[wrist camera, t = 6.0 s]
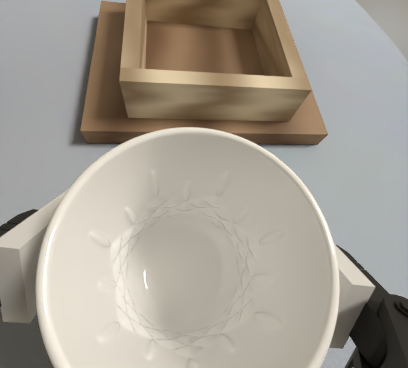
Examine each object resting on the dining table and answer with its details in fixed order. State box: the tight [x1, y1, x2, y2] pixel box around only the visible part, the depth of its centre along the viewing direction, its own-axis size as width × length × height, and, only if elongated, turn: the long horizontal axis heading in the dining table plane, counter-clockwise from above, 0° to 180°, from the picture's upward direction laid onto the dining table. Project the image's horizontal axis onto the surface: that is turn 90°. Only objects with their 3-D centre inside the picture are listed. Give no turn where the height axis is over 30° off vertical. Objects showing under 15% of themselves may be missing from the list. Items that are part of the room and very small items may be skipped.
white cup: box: [35, 127, 340, 368], centre depth 11 cm, size 8×8×10 cm
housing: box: [80, 0, 328, 144], centre depth 20 cm, size 20×16×5 cm
